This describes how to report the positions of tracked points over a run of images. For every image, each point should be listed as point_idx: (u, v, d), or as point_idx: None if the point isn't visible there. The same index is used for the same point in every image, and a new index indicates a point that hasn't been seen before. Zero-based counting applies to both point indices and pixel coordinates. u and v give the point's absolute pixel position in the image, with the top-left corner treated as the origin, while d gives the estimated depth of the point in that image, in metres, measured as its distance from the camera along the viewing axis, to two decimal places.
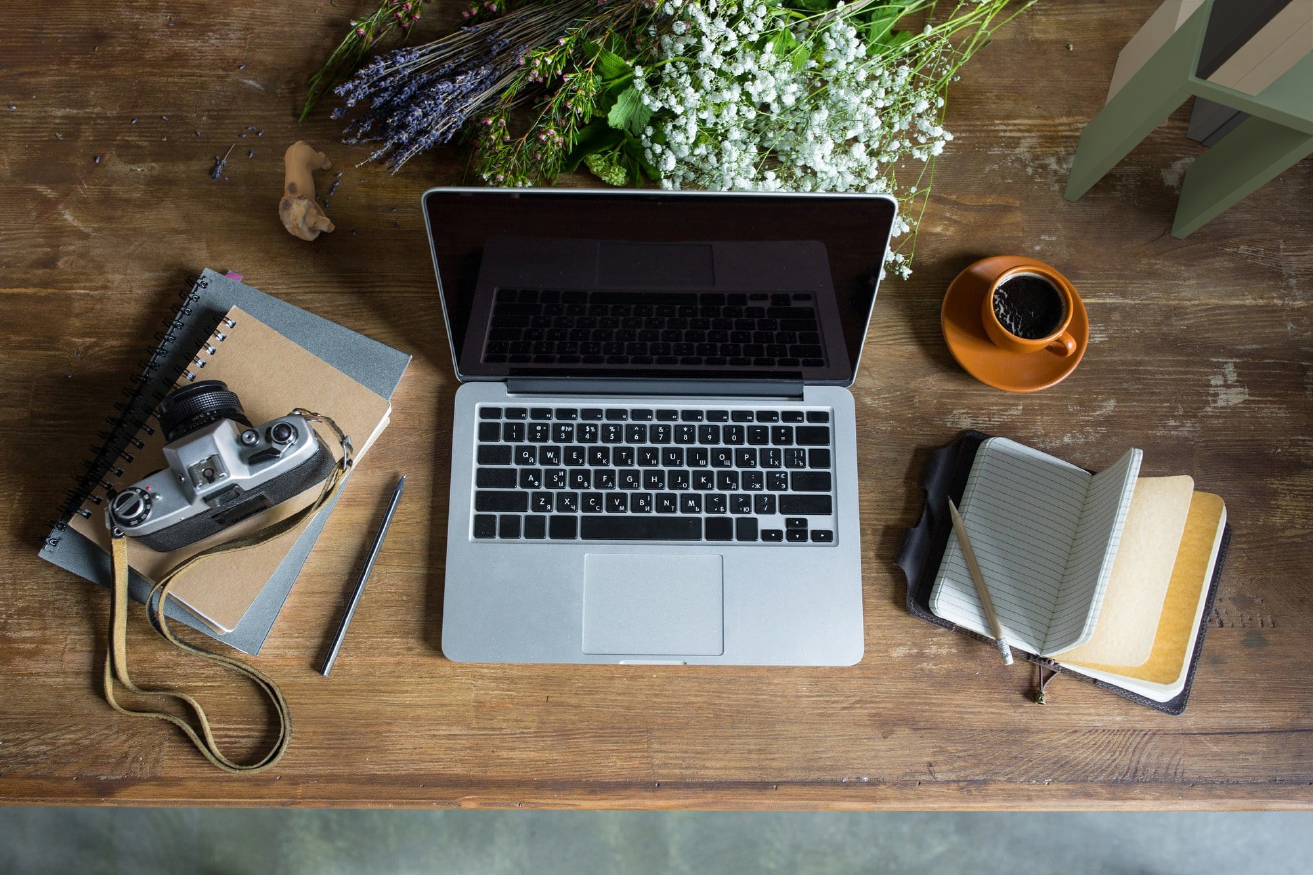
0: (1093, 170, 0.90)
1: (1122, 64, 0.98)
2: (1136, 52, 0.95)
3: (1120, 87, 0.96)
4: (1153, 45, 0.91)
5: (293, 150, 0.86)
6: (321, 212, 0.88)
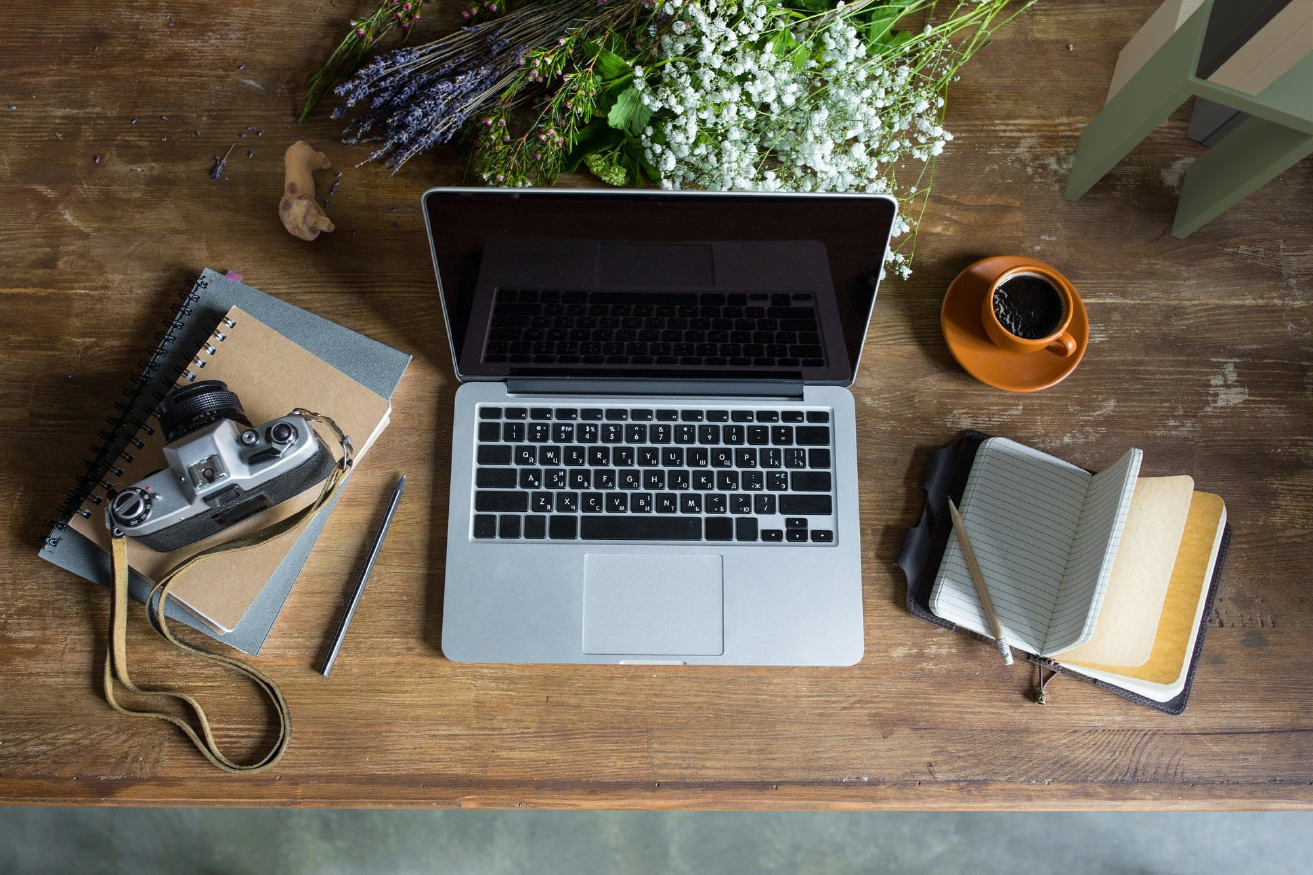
0: (1093, 170, 0.90)
1: (1122, 64, 0.98)
2: (1136, 52, 0.95)
3: (1120, 87, 0.96)
4: (1153, 45, 0.91)
5: (293, 150, 0.86)
6: (321, 212, 0.88)
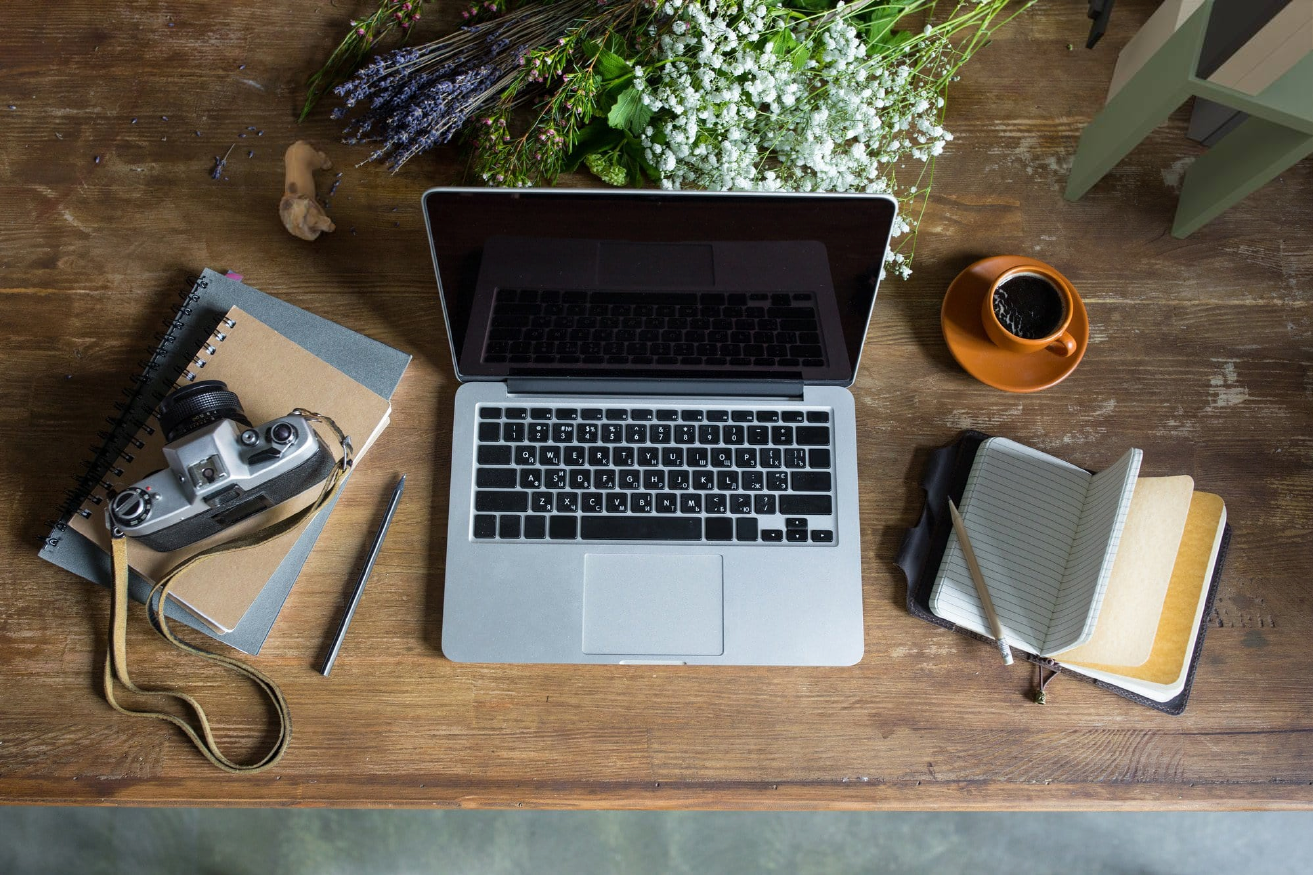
0: (1093, 170, 0.90)
1: (1122, 64, 0.98)
2: (1136, 52, 0.95)
3: (1120, 87, 0.96)
4: (1153, 45, 0.91)
5: (293, 150, 0.86)
6: (321, 212, 0.88)
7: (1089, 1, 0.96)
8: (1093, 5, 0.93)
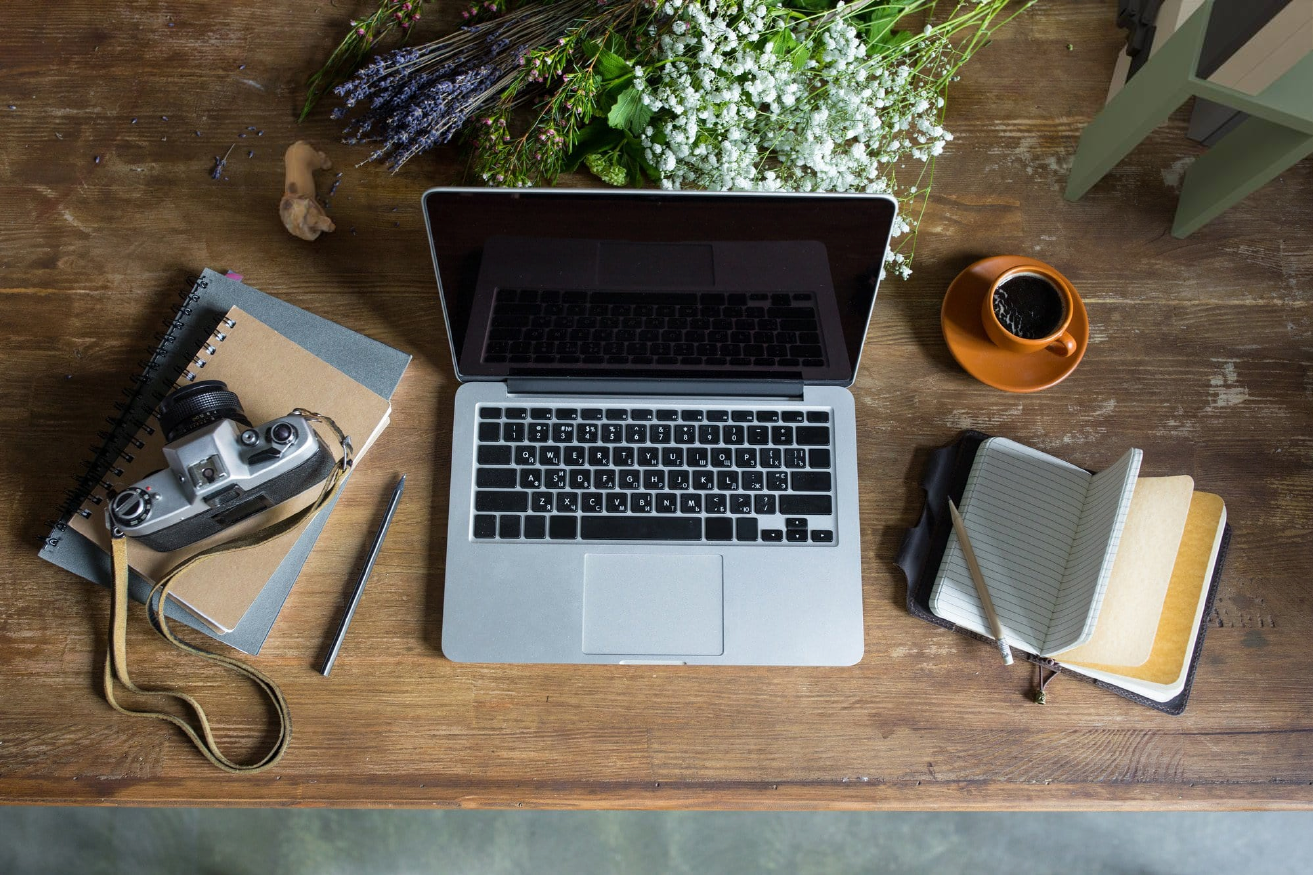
0: (1093, 170, 0.90)
1: (1122, 64, 0.98)
2: None
3: (1120, 87, 0.96)
4: (1153, 45, 0.91)
5: (293, 150, 0.86)
6: (321, 212, 0.88)
7: (1129, 40, 0.95)
8: (1132, 43, 0.92)
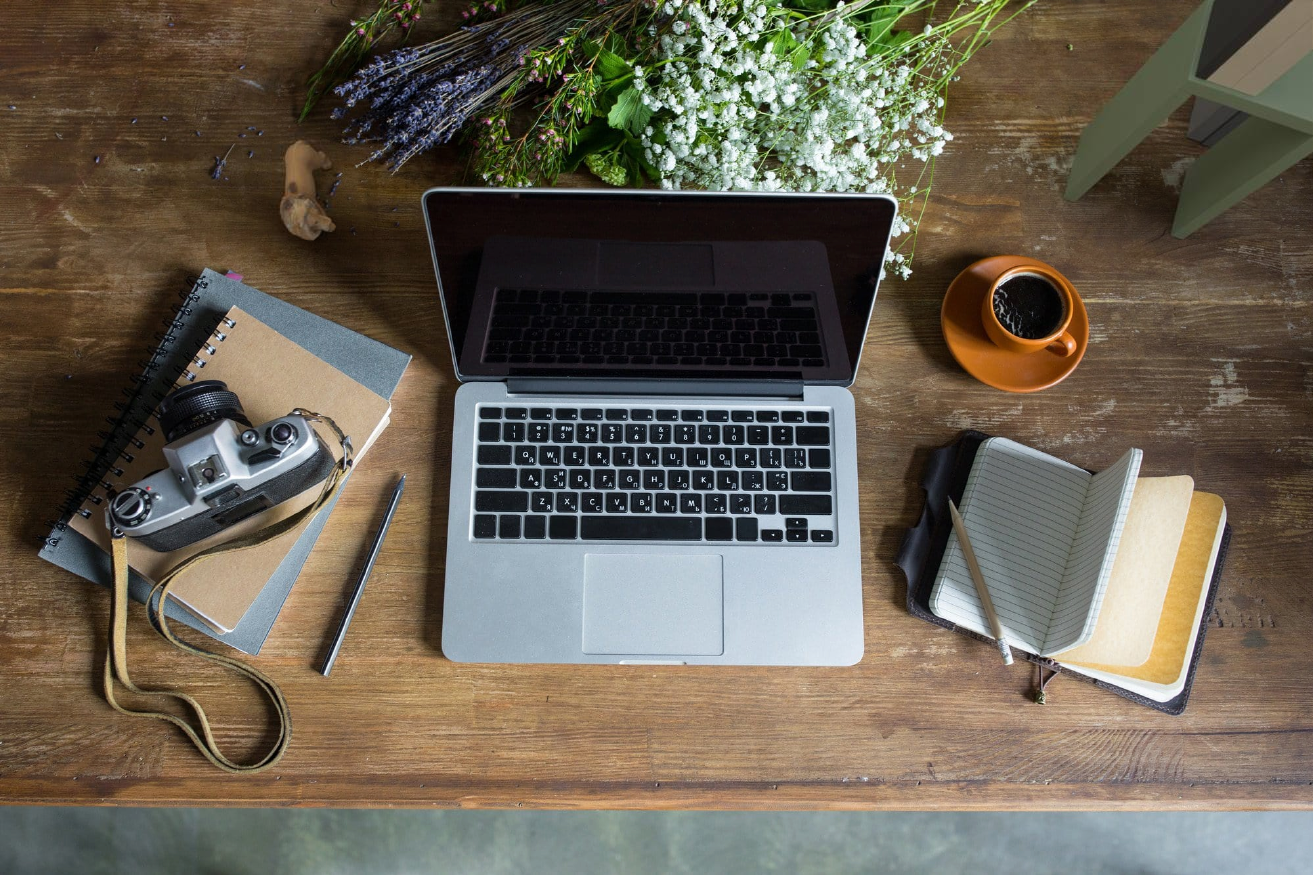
0: (1093, 170, 0.90)
1: None
2: None
3: None
4: None
5: (293, 149, 0.86)
6: (322, 212, 0.88)
7: None
8: None
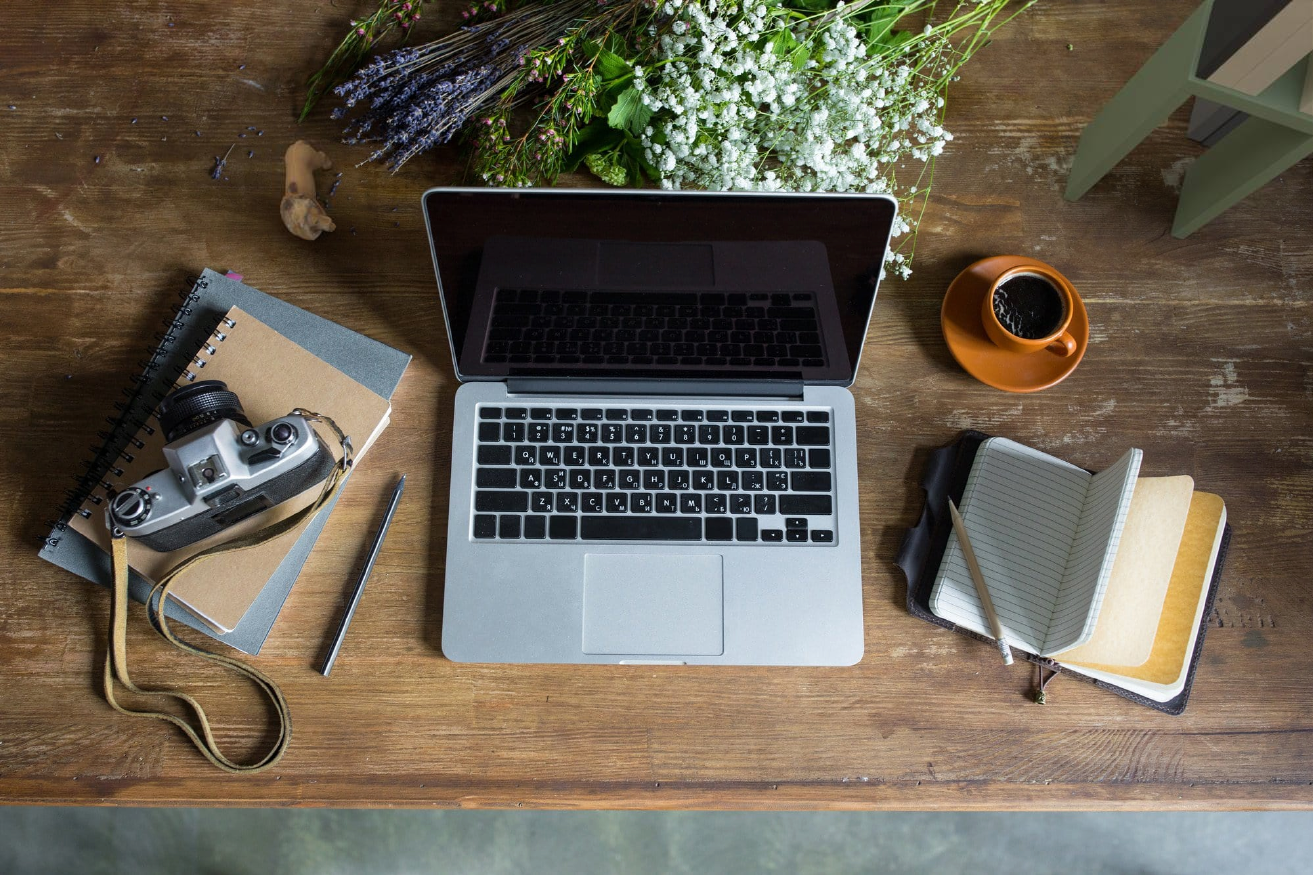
0: (1093, 170, 0.90)
1: None
2: None
3: None
4: None
5: (293, 149, 0.86)
6: (322, 211, 0.88)
7: None
8: None
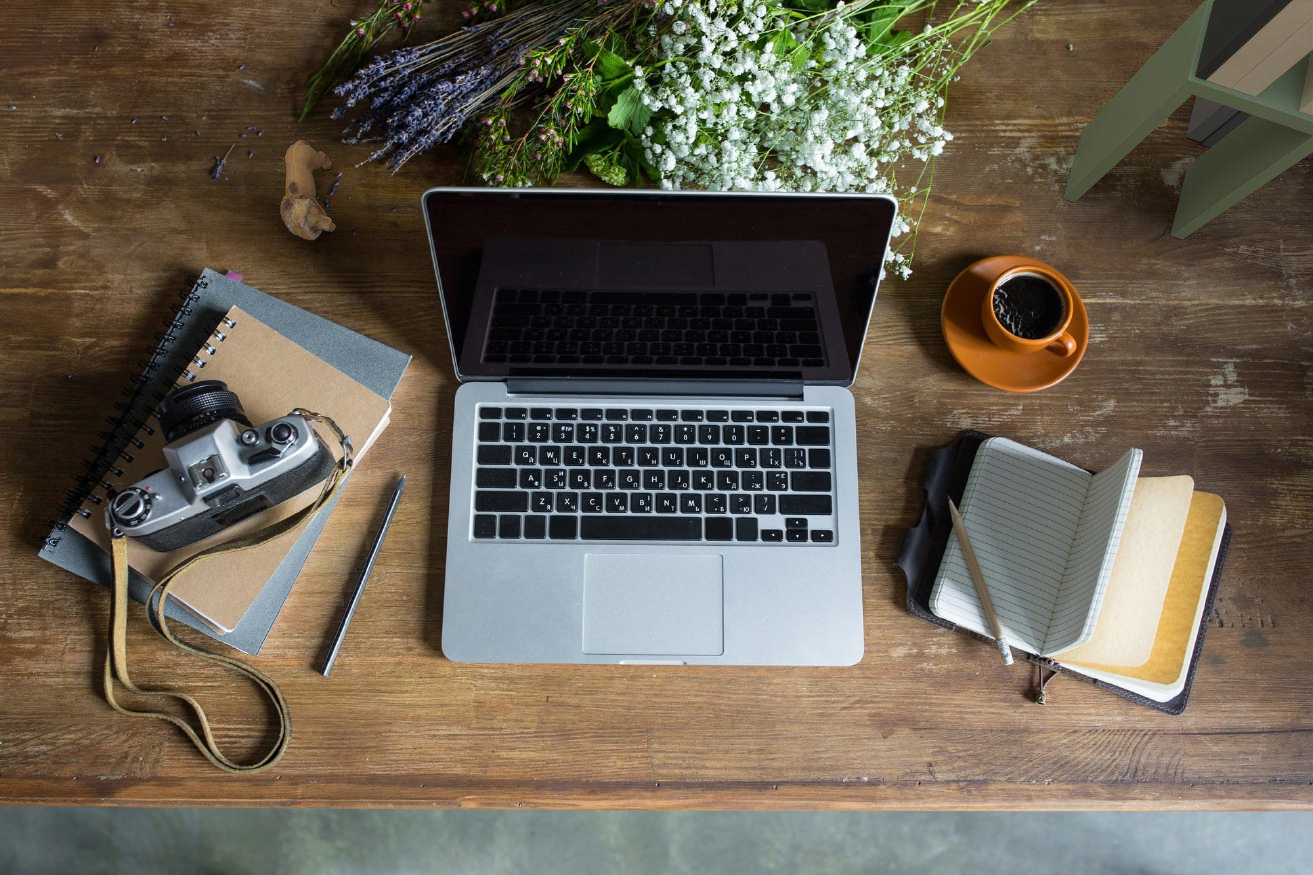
0: (1093, 170, 0.90)
1: None
2: None
3: None
4: None
5: (293, 149, 0.86)
6: (322, 211, 0.88)
7: None
8: None
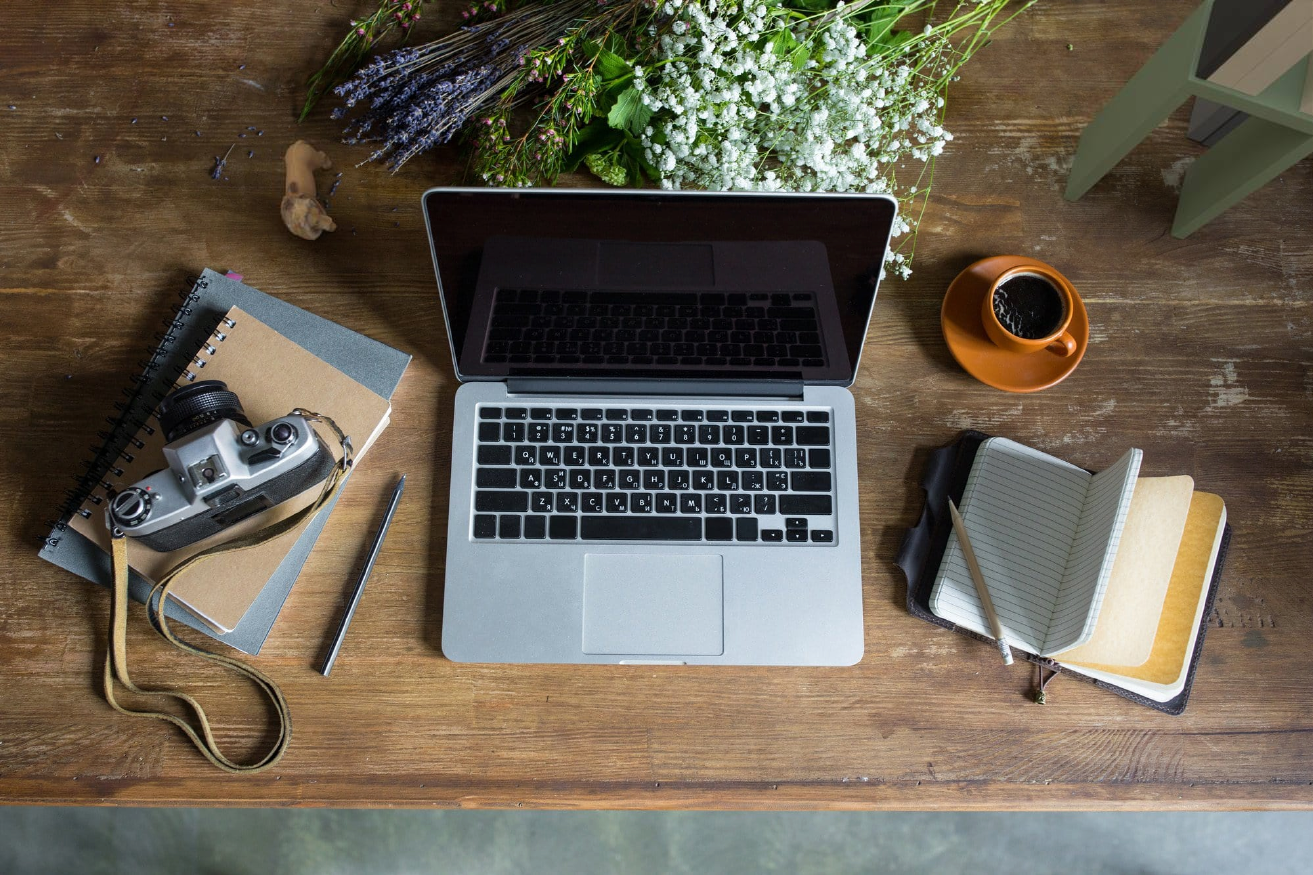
0: (1093, 170, 0.90)
1: None
2: None
3: None
4: None
5: (293, 149, 0.86)
6: (322, 211, 0.88)
7: None
8: None
